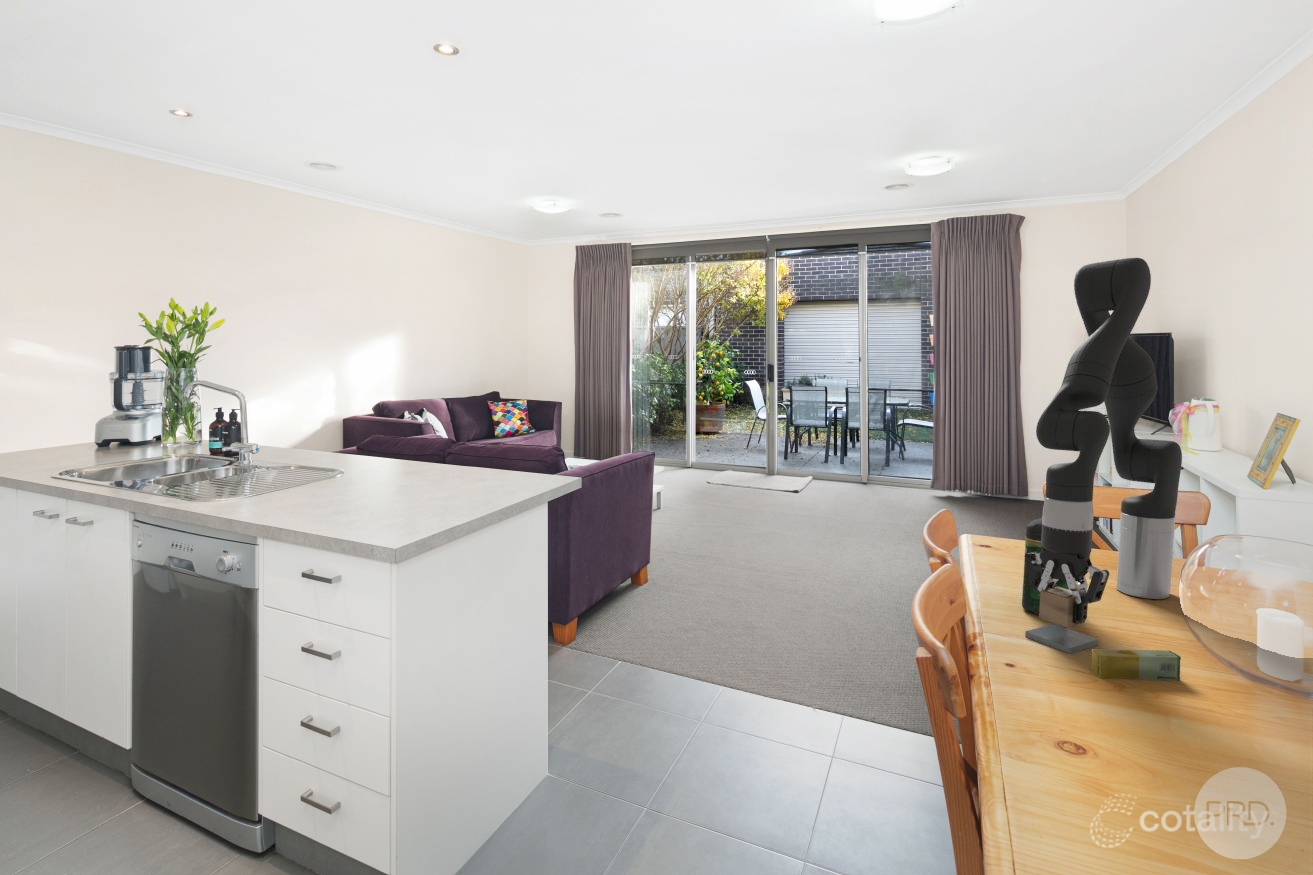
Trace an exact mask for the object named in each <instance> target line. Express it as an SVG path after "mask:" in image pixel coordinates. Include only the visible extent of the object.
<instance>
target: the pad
mask: <svg viewBox="0 0 1313 875" xmlns="http://www.w3.org/2000/svg"><path fill="white" fill-rule="evenodd" d="M1024 633H1025V634H1024V637H1025V638H1027V639H1031V640H1033V641H1035V642H1037V643H1040V644H1043V645H1046V646H1049V647H1051V648H1054V649H1056V650H1059V651H1061V652H1064V653H1067V654H1070V655H1071V654H1072V653H1076V652H1080V651H1082V650H1086V649H1089V648H1093V647H1095V646H1098V645H1099V638H1096V637H1093V636H1090V635H1088V634H1084V633H1082V632H1079V631H1076V630H1074V629H1073V630H1072V629H1071V628H1069V627H1065V626H1062V625H1059V624H1056V623H1050V624H1048V625H1044V626H1043V625H1042V626H1040V627H1036V628H1033V629H1029V630H1026V631H1025V632H1024Z"/></svg>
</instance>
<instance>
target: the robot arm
mask: <svg viewBox="0 0 1313 875" xmlns="http://www.w3.org/2000/svg"><path fill="white" fill-rule="evenodd" d="M1151 276H1152V274H1151V270H1150V267H1149V264H1148V262H1147V261H1146V260H1145V259H1143V258H1141V257H1130V258H1129V257H1128V258H1127V257H1126V258H1121V259H1119V258H1118V259H1113V260H1107V261H1100V262H1098V261H1097V262H1093V263H1087V264H1084V265H1082V266H1081V267H1080V268H1078V270H1077V271H1076V272H1075V275H1074V279H1073V289H1074V290H1073V291H1074V296H1075V299H1076V301H1075V302H1076V305H1077V307H1078V311H1079V314H1080V317H1081V319H1082V321H1083V324H1084V328H1085V330H1086V334H1087V336H1088V337H1087V338H1086V339H1085V340H1084V341H1083V342H1082V343H1081V344H1080V346H1078V347H1077V348H1076V350H1075V351H1074V352H1073V354H1072V355H1071V357H1070V359H1069V361H1068V363H1067V367H1066V370H1065V373H1064V376H1063V379H1062V382H1061V386H1060V388H1059V390H1058V391H1057V392H1056V394H1055V395H1054V396H1053V398H1052V399H1051V401H1050V403H1048V405H1047V406H1046V407H1045V409H1044V410H1043V412H1042V413H1041V415H1040V417H1039V419H1038V421H1037V424H1036V428H1035V433H1036V434H1035V435H1036V438H1037V440H1038V443H1039V444H1040V446H1042V447H1043V448H1045V449H1048V450H1055V451H1067V452H1068V451H1069V452H1079V454H1078V457H1077V458H1076V460H1075V461H1073V462H1064V463H1061V462H1060V463H1055V464H1051V465H1050V466H1049V467H1047V469H1046V474H1045V495H1044V496H1045V497H1044V503H1043V507H1042V516H1041V517H1042V536H1041V546H1042V547H1043V549H1042V551H1041V552H1040V553H1037V552H1031V553H1027V554H1025V553H1024V555H1023V556H1024V559H1025V562H1026V568H1027V574H1028V580H1029V584H1030V585H1031V586H1035V587H1036V588H1038V590H1039V591H1041V590H1045V589H1049V588H1054V585H1055V583H1056V582H1057V581H1058V580H1059V579H1061V580H1063V581H1064V582H1067V584H1068V587H1069V590H1071V591H1072V595H1073V598H1074V601H1075V603H1074V604H1073V623H1075V624H1077V625H1080V623H1081V624H1084V623H1085V622H1086V621H1087V618H1088V609H1089V608H1088V605H1089V604H1093V603H1096V602H1100V601H1101V599H1102V597H1103V595H1104V591H1105V588H1106V585H1107V583H1108V580H1109V578H1110V577H1109V576H1110V572H1109V570H1108V569H1100V568H1097V567H1096V566H1094V565H1093V563H1092V561H1091V553H1092V548H1093V532H1094V531H1093V530H1094V506H1093V505H1094V504H1093V500H1094V499H1093V498H1094V495H1093V494H1094V483H1095V482H1094V481H1095V475H1096V472H1097V467H1098V465H1099V462H1100V458H1101V456H1102V453H1103V452H1104V449H1105V447H1106V445H1107V442H1108V440H1109V436H1111V437H1110V438H1111V447H1112V454H1113V455H1112V456H1113V461H1114V466H1115V470H1116V472H1117V475H1118V476H1119V477H1120V478H1121V479H1122V480H1126V481H1131V482H1138V483H1146V484H1154V486H1153V490H1152V491H1151V492H1148V493H1146V494H1141V495H1135V496H1129V497H1125V498H1124V499H1123V500H1122V501H1121V503H1120V504H1121V505H1120V521H1119V538H1118V540H1119V541H1118V553H1117V555H1118V557H1117V569H1116V570H1117V571H1116V586H1115V587H1116V588H1115V589H1116V590H1118V591H1119V592H1121V593H1124V594H1126V595H1130V596H1133V597H1138V598H1143V599H1150V600H1165V599H1168V598H1170V593H1171V586H1172V572H1173V571H1172V569H1173V560H1174V557H1173V556H1174V555H1173V554H1174V550H1173V549H1174V536H1175V521H1176V520H1175V519H1176V511H1177V510H1176V509H1177V504H1178V495H1179V485H1180V477H1181V473H1182V472H1181V470H1182V465H1183V464H1182V463H1183V453H1182V452H1183V451H1182V448H1181V446H1180V445H1179V443H1178V442H1176V441H1173V440H1164V439H1150V438H1149V439H1148V438H1138V437H1137V436H1136V434H1135V427H1136V425H1137V424H1138V421H1139V420H1140V418H1141V417H1142V416H1143V414H1144V413H1145V412H1146V411H1147V409H1148V408H1149V407H1150V406H1151V404H1152V403H1153V402H1154V400H1155V398H1156V395H1157V393H1158V390H1159V389H1158V387H1159V386H1158V380H1157V379H1158V378H1157V375H1156V369H1155V365H1154V361H1153V359H1152V358H1151V356H1150V354H1149V353H1148V352H1147V351H1146V350H1145V349H1144V348H1143V347H1141V346H1140V344H1138V343H1137V342H1136V341H1135V340H1133V339H1132V338H1131V337H1130V335H1131V333H1132V331H1133V329H1134V328H1135V325H1136V323H1137V321H1138V319H1139V317H1140V315H1141V313H1142V311H1143V308H1144V306H1145V304H1146V302H1147V300H1148V298H1149V294H1150V290H1151V284H1152V281H1151V280H1152V277H1151ZM1111 311H1112V313H1110V312H1111ZM1103 403H1104V405H1105V410H1106V415H1107V417H1108V418H1107V417H1106V416H1105V415H1104V414H1103V413H1102V412H1099V411H1094V410H1084V409H1090V408H1094V407H1097V406H1100V405H1102V404H1103ZM1041 562H1042V563H1043V564H1044V566H1045V570H1044V572H1043V574H1042V569H1041ZM1087 574H1089V577H1088V578H1089V580H1090V582H1089V585H1088V581H1087V578H1086V575H1087ZM1039 606H1040V601H1039ZM1084 621H1085V622H1084ZM1083 622H1084V623H1083Z"/></svg>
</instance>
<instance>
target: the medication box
mask: <svg viewBox="0 0 1313 875" xmlns="http://www.w3.org/2000/svg"><path fill="white" fill-rule="evenodd" d="M1181 660H1182V658H1181V656H1180V655H1179V654H1177V653H1175V652H1173V651H1171V650H1161V649H1160V650H1148V649H1147V650H1146V649H1104V648H1103V649H1101V648H1100V649H1099V648H1098V649H1097V648H1095V649H1094V648H1093V649H1091V665H1090V666H1091V668H1090V672H1091V673H1092V674H1094V675H1095V676H1097V677H1098V678H1099V679H1113V680H1116V679H1117V680H1119V679H1120V680H1140V681H1141V680H1142V681H1143V680H1146V681H1148V680H1149V681H1170V682H1171V681H1174V682H1178V681H1179V682H1180V681H1181V677H1180V676H1181Z"/></svg>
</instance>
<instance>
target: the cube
mask: <svg viewBox="0 0 1313 875" xmlns="http://www.w3.org/2000/svg"><path fill="white" fill-rule="evenodd" d="M1074 603H1075V601H1074V598H1073V595H1072V591H1071V590H1070V589H1065V588H1062V587H1054V588H1049V589H1045V590H1041V591H1040V609H1039V615H1038V618H1039V619H1042V620H1044V621H1048V622H1052V624H1056V625H1059V626H1062V627H1065V628H1070V627H1072V626H1077V625H1078V624H1075V623H1073V604H1074ZM1085 622H1086V621H1084V622H1083V623H1080V624H1085ZM1080 624H1079V625H1080Z"/></svg>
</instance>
